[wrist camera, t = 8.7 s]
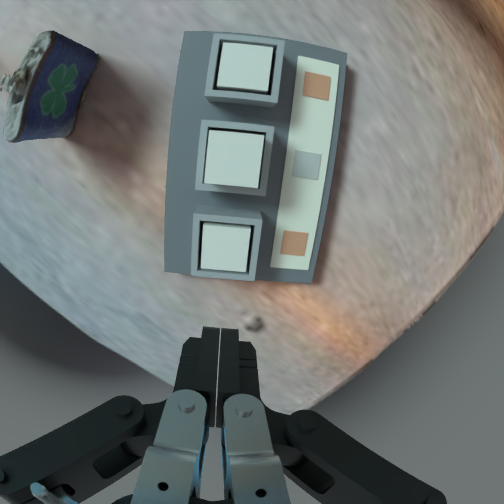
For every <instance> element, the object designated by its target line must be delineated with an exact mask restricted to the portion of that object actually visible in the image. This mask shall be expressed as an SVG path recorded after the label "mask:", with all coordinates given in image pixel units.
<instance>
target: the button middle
mask: <svg viewBox="0 0 504 504" xmlns="http://www.w3.org/2000/svg"><path fill="white" fill-rule="evenodd" d="M263 142H264V135H257V134H248V133H238V132H228V131H215V130H209V136H208V146H207V156H206V167H205V178H204V183H207V184H219V185H231V186H241V187H251V188H258V183H259V174H260V166H261V158H262V150H263Z"/></svg>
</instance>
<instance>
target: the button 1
mask: <svg viewBox="0 0 504 504" xmlns="http://www.w3.org/2000/svg"><path fill="white" fill-rule="evenodd" d="M250 232H251V227H250V225H246V224H235V223H224V222H213V221H204V224H203V235H202V253H201V268H203V269H215V270H226V271H238V272H246V265H247V257H248V249H249V240H250Z"/></svg>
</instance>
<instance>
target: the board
mask: <svg viewBox="0 0 504 504" xmlns="http://www.w3.org/2000/svg"><path fill="white" fill-rule="evenodd" d="M223 42H225V43H239V44H249V45H258V46H266V47H273V53H272V61H271V69H270V77H269V85H268V91H267V93H266V95H263V94H254V93H245V92H235V91H223V90H218V88H217V81H218V74H219V67H220V60H221V53H222V47H223ZM346 61H347V53H345V52H341V51H337V50H334V49H330V48H326V47H322V46H317V45H313V44H308V43H304V42H299V41H293V40H288V39H282V38H275V37H268V36H261V35H252V34H243V33H230V32H211V31H185V32H184V37H183V42H182V48H181V54H180V59H179V66H178V72H177V79H176V86H175V93H174V101H173V109H172V118H171V128H170V138H169V150H168V163H167V179H166V199H165V239H164V263H165V272H172V273H182V274H191V276H198V277H209V278H221V279H233V280H245V281H255V280H264V281H278V282H292V283H307V284H311V283H312V279H313V275H314V270H315V265H316V261H317V256H318V251H319V247H320V242H321V237H322V232H323V227H324V221H325V216H326V211H327V205H328V199H329V194H330V188H331V182H332V176H333V169H334V163H335V156H336V150H337V142H338V135H339V128H340V120H341V111H342V103H343V94H344V84H345V73H346ZM209 130H215V131H228V132H238V133H248V134H257V135H264V142H263V150H262V158H261V166H260V174H259V183H258V188H251V187H241V186H231V185H219V184H207V183H204V178H205V167H206V156H207V146H208V136H209ZM204 221H213V222H224V223H235V224H246V225H250V227H251V232H250V240H249V249H248V257H247V265H246V272H238V271H226V270H215V269H203V268H201V253H202V235H203V224H204Z"/></svg>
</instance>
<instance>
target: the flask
mask: <svg viewBox="0 0 504 504" xmlns="http://www.w3.org/2000/svg"><path fill="white" fill-rule="evenodd" d="M99 63H100V61H99V54H96V53H95V52H94V51H93V50H91V49H89V48H87V47H85V46H83V45H81V44H79V43H77V42H75V41H73V40H71V39H69V38H67V37H65V36H63V35H61V34H59V33H57V32H55V31H45V32H43V33H41V34H39V35H38V36H37V37H36V38H35V39H34V41H33V42H32V44H31V46H30V48H29V50H28V52H27V53H26V55H25V57H24V59H23V60H22V62H21V65H20V67H19V68H18V69H17V70H16V71H15V72H14V73H13V76H12V78H11V77H10V75H9V76H8V78H7V79H6V82H5V85H4V90H6V91H8V92H9V94H10V96H9V99H8V103H7V109H6V114H5V120H4V128H3V133H4V136H5V138H6V140H7V141H9V142H13V143H16V142H20V141H23V140H34V139H47V138H64V137H67V136H69V135H70V134H71V133H72V131H73V129H74V128H75V125H76V123H77V121H78V119H77V115H78V113H79V110H80V108H81V107H82V104H83V102H84V99H85V95H86V94H85V93H86V88H87V86H89V85H90V79H91V77H92V76H93V75H94V73H95V70H96V69H97V66H98V65H99ZM5 78H6V74H5V75H4V76H3V77H2V79H1V81H0V84H1V85H2V84H3V83H4V80H5ZM0 91H2V88H1V87H0Z"/></svg>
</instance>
